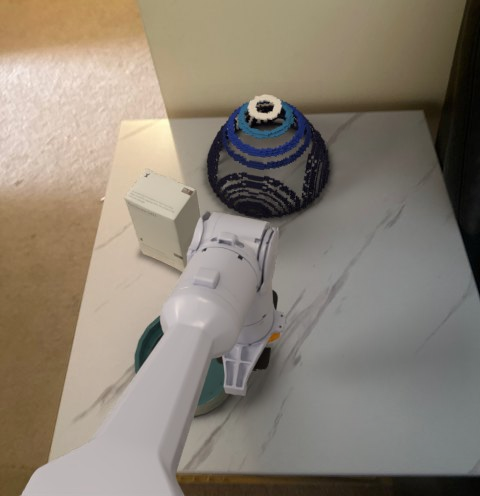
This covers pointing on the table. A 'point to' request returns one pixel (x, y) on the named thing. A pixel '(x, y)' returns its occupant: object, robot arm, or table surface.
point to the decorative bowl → (277, 112)
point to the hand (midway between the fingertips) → (251, 349)
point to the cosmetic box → (163, 217)
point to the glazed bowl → (214, 380)
